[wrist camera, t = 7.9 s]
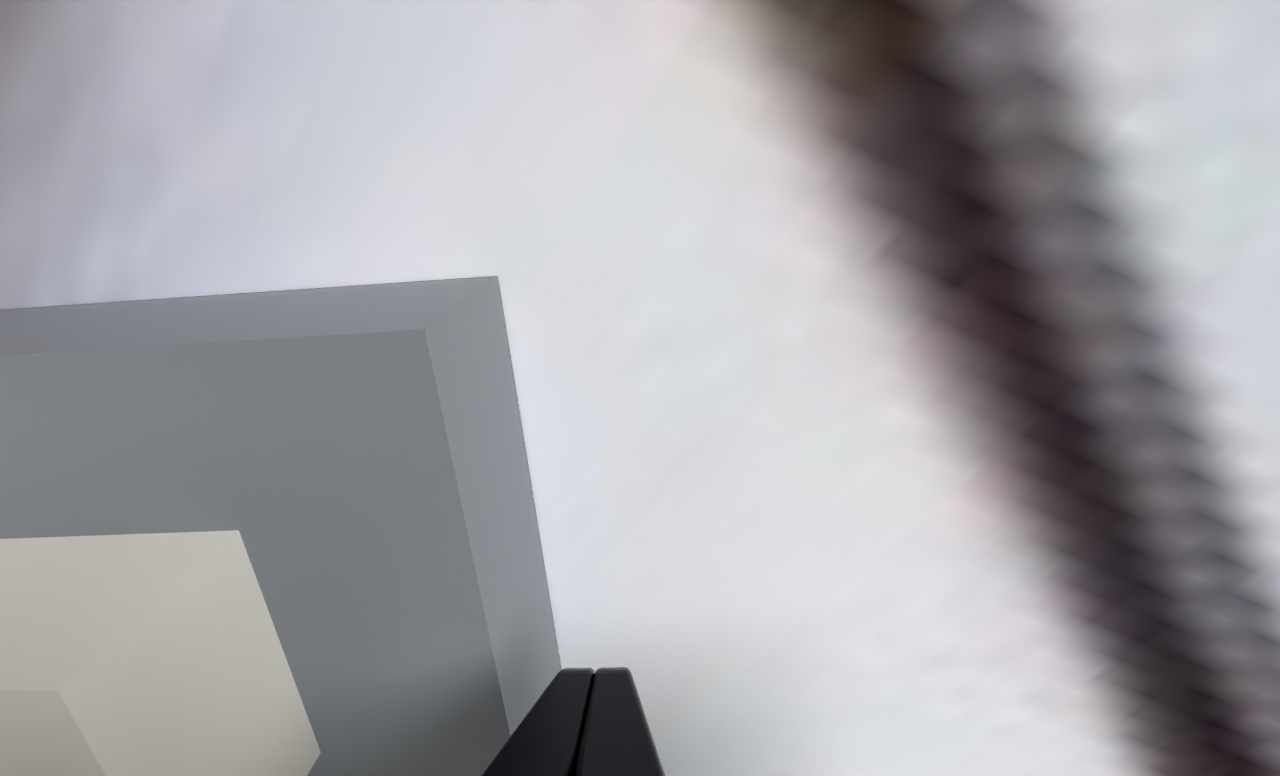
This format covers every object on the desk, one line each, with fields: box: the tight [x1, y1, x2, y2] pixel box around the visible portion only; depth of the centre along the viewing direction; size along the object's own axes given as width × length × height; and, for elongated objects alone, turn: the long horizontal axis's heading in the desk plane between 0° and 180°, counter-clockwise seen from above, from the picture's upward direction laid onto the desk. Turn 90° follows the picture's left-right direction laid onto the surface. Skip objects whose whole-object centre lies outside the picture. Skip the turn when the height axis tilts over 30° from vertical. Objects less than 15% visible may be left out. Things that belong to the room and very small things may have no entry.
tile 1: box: [0, 530, 321, 776], centre depth 8 cm, size 4×4×2 cm
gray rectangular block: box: [0, 276, 561, 776], centre depth 11 cm, size 15×11×3 cm
